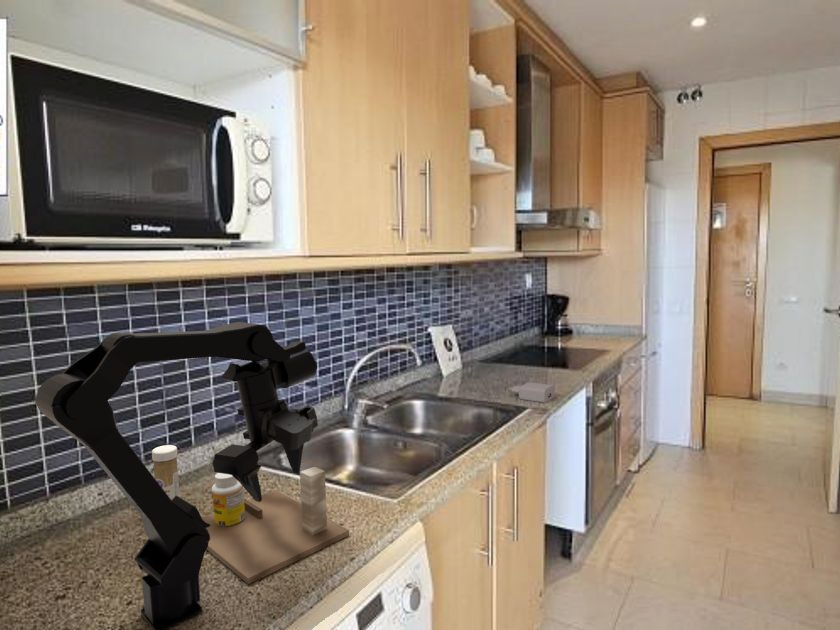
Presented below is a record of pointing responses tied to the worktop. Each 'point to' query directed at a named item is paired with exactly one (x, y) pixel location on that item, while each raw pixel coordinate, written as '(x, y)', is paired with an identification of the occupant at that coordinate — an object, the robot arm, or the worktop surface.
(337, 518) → the worktop surface
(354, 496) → the worktop surface
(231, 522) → the supplement bottle
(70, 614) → the worktop surface
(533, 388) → the charger
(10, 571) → the worktop surface
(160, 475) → the sprinkles bottle
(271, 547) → the square wooden board
